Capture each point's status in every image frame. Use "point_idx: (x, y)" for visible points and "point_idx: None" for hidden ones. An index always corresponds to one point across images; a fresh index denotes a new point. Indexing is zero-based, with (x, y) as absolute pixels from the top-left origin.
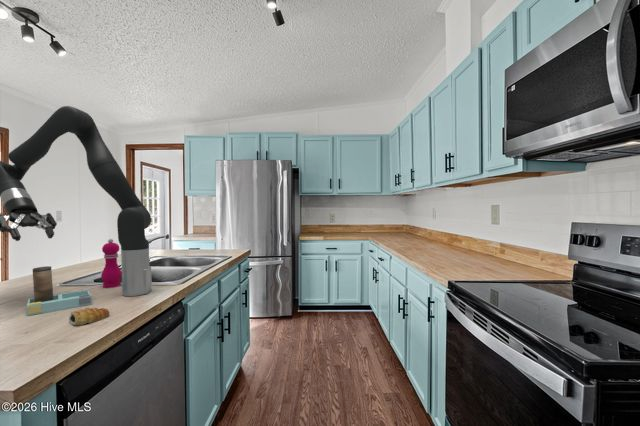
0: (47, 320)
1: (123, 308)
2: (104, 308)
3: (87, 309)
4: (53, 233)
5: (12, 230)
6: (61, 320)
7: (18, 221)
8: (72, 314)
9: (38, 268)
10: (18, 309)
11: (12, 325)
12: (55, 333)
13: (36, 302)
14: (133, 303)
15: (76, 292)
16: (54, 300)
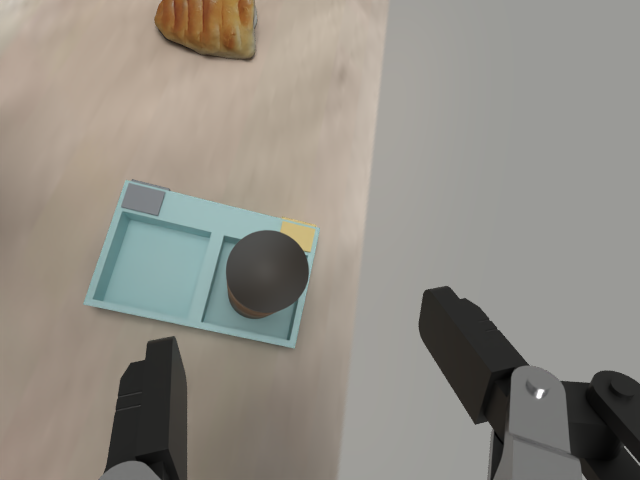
0: (285, 132)
1: (95, 44)
2: (163, 11)
3: (215, 2)
4: (134, 369)
5: (516, 364)
6: (261, 96)
7: (535, 466)
8: (254, 11)
9: (284, 267)
10: (316, 359)
11: (356, 170)
12: (300, 7)
13: None
14: (40, 67)
15: (133, 308)
16: (238, 229)
